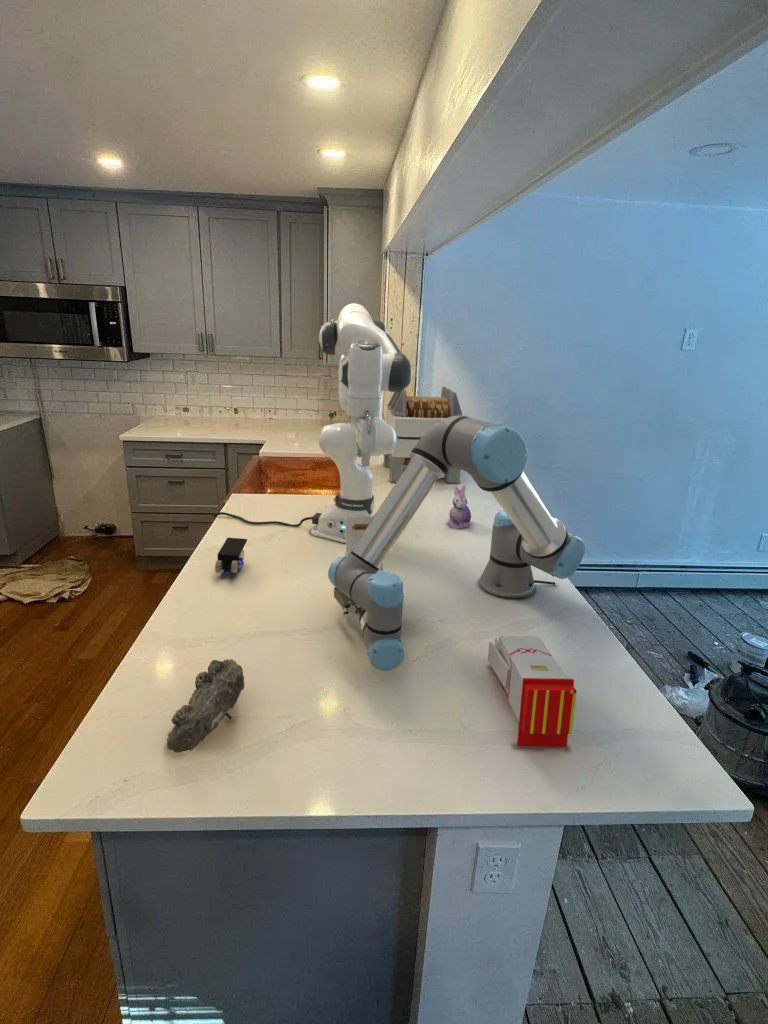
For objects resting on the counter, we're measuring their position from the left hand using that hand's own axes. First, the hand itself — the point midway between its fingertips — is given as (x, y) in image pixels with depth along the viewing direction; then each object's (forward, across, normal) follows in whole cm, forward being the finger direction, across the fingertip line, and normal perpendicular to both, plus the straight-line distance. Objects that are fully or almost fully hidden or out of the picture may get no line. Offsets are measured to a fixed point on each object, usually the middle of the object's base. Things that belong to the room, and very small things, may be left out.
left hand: (362, 461), depth 148 cm
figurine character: (+37, +14, +36) cm, 53 cm away
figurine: (+37, +46, -44) cm, 74 cm away
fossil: (+37, -50, +35) cm, 71 cm away
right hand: (+30, -7, 0) cm, 31 cm away
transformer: (+37, +115, -45) cm, 129 cm away
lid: (+21, -7, 0) cm, 22 cm away
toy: (+37, -52, -27) cm, 70 cm away
